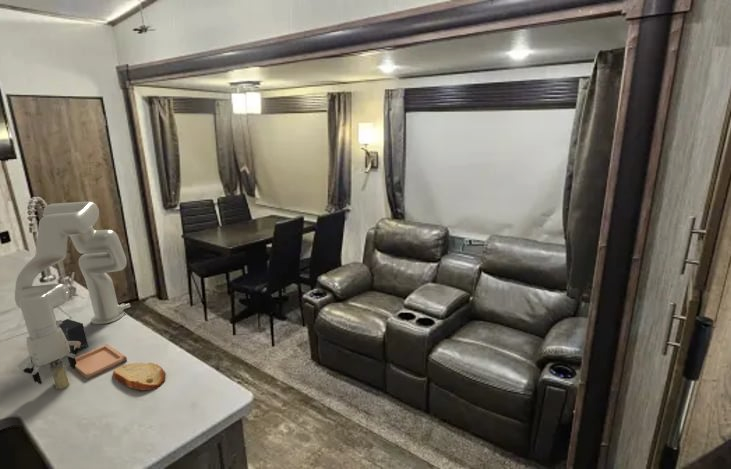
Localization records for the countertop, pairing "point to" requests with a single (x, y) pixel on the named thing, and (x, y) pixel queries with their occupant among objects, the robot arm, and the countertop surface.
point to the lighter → (59, 374)
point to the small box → (74, 333)
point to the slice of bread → (140, 376)
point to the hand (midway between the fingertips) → (56, 374)
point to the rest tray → (98, 361)
